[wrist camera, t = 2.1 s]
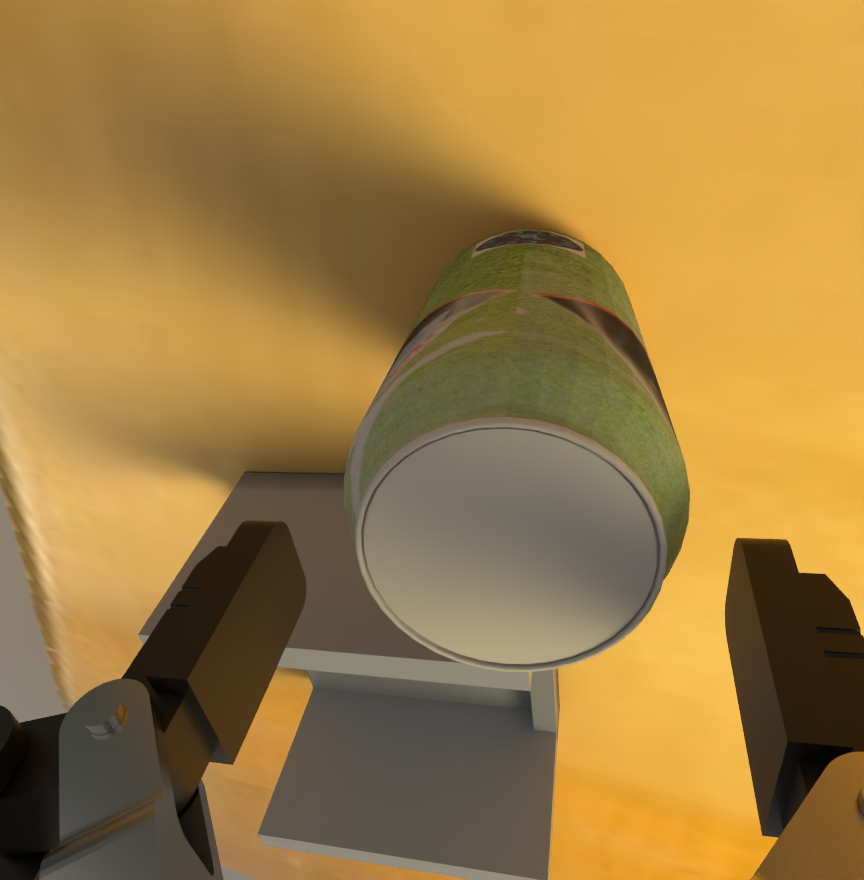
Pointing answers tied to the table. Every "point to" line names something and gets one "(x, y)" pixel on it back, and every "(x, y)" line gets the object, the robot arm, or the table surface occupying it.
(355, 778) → the holder
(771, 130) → the table surface
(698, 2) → the table surface
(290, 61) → the table surface
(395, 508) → the beverage can
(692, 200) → the table surface
